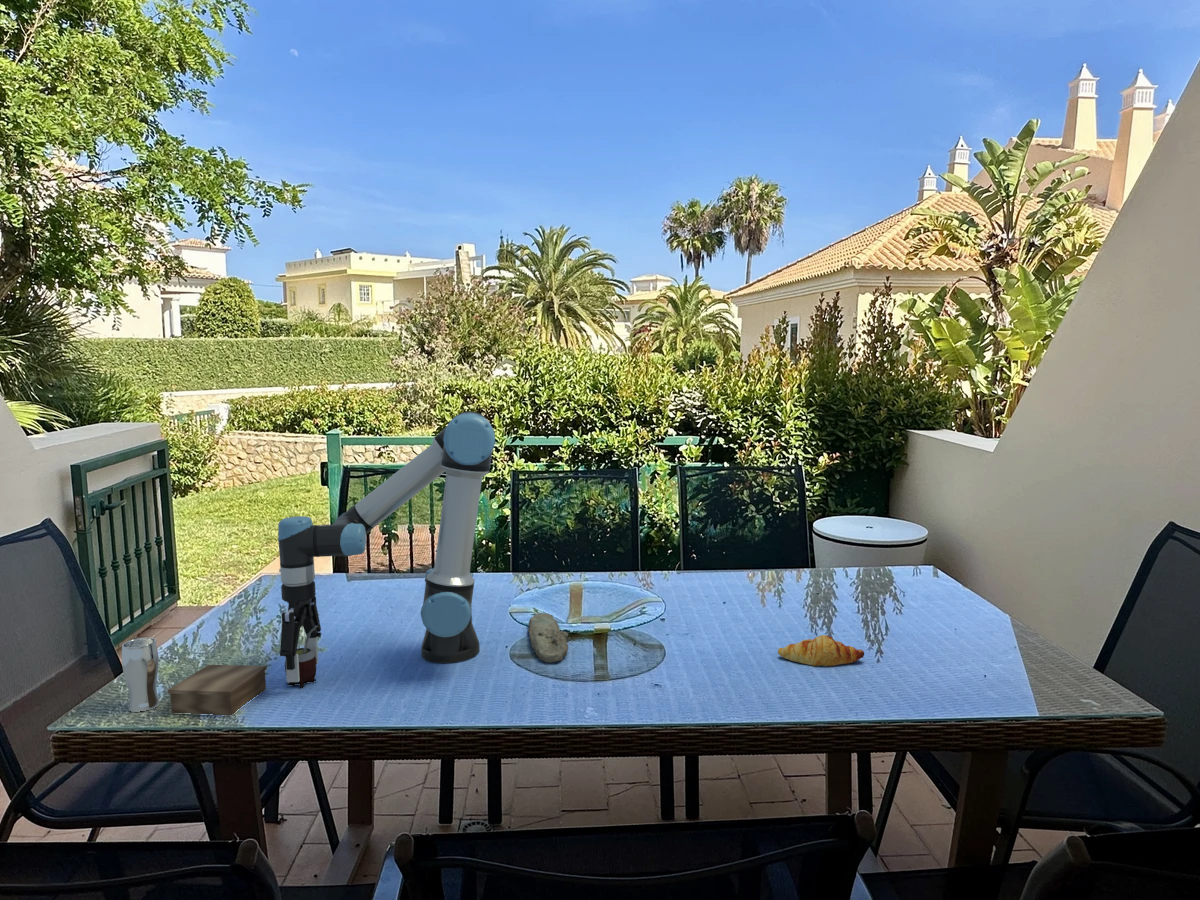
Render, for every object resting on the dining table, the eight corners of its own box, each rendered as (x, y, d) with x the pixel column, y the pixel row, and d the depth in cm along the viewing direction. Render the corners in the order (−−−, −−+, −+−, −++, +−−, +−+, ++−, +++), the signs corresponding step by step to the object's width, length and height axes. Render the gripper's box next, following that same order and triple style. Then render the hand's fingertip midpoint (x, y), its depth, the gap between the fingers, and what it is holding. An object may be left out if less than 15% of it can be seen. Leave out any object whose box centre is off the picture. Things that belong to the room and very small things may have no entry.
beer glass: (168, 699, 176) (163, 636, 174) (151, 713, 169) (146, 647, 167) (137, 700, 175) (132, 637, 174) (119, 714, 168) (113, 648, 167)
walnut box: (268, 690, 181) (266, 666, 180) (232, 718, 166) (230, 691, 166) (210, 688, 182) (208, 664, 182) (169, 716, 168) (167, 689, 167)
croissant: (778, 676, 193) (779, 654, 189) (775, 645, 201) (776, 624, 197) (865, 678, 190) (868, 656, 185) (859, 647, 198) (862, 625, 194)
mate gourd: (286, 680, 186) (283, 620, 184) (321, 675, 189) (317, 616, 187) (285, 692, 179) (282, 630, 177) (321, 687, 182) (318, 625, 180)
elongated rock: (557, 624, 228) (524, 629, 227) (556, 607, 228) (523, 611, 226) (574, 662, 194) (535, 667, 192) (573, 641, 194) (533, 646, 192)
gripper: (302, 569, 192) (307, 654, 195) (259, 596, 170) (265, 692, 172) (332, 569, 192) (336, 654, 194) (292, 596, 170) (298, 692, 172)
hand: (303, 672), depth 183 cm, fingers open, 10 cm apart
